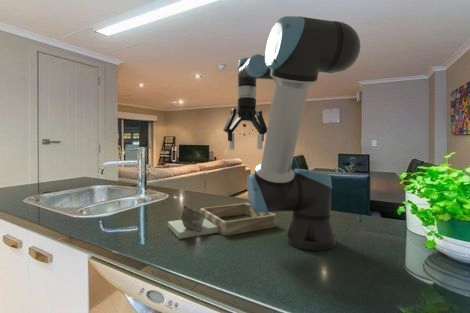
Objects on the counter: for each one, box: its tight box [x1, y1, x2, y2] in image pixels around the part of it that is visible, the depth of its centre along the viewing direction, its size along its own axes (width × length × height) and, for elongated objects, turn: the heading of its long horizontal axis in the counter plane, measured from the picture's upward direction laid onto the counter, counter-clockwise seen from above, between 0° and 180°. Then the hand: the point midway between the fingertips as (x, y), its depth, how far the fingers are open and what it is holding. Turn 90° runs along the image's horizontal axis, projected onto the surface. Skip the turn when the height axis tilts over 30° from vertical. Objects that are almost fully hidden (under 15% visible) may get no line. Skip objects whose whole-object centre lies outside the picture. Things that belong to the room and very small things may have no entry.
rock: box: [180, 205, 205, 232], centre depth 95 cm, size 11×6×10 cm
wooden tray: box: [199, 202, 277, 236], centre depth 108 cm, size 22×22×4 cm
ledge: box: [167, 219, 219, 240], centre depth 99 cm, size 14×14×2 cm
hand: (246, 149), depth 114 cm, fingers open, 13 cm apart
